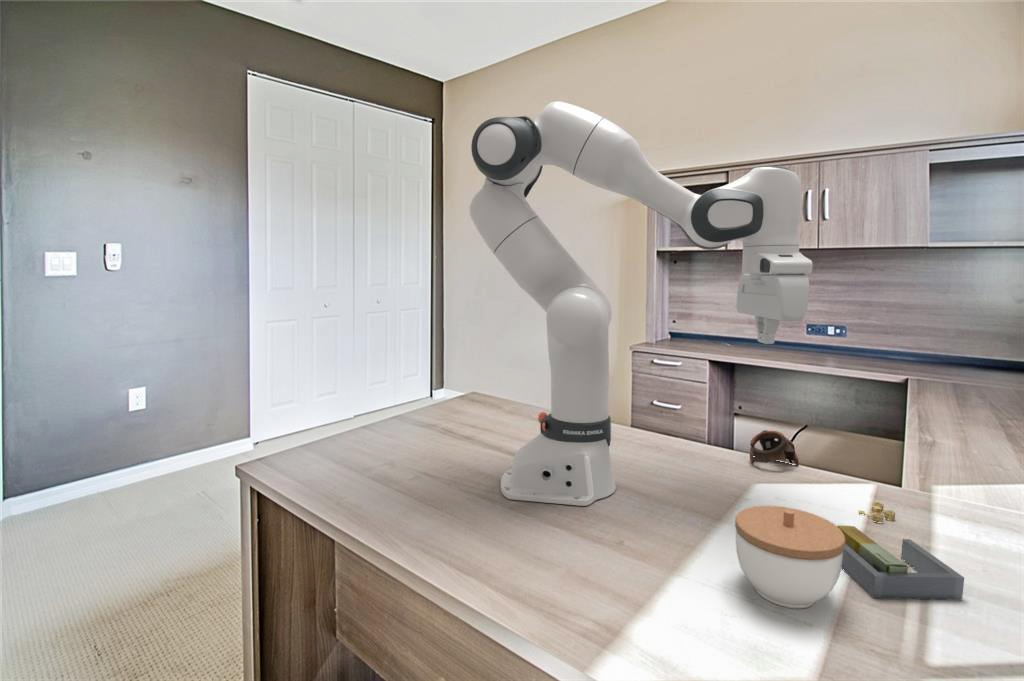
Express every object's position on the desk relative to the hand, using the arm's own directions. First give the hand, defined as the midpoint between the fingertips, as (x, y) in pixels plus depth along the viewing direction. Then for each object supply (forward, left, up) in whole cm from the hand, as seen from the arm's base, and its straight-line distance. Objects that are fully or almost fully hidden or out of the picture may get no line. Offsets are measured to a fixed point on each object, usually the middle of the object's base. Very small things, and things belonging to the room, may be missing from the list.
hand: (765, 342), depth 96 cm
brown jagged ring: (+11, +21, -29) cm, 38 cm away
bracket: (+8, -25, -29) cm, 39 cm away
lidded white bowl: (-8, -29, -29) cm, 42 cm away
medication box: (+6, -23, -30) cm, 38 cm away
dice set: (+18, -6, -30) cm, 35 cm away
